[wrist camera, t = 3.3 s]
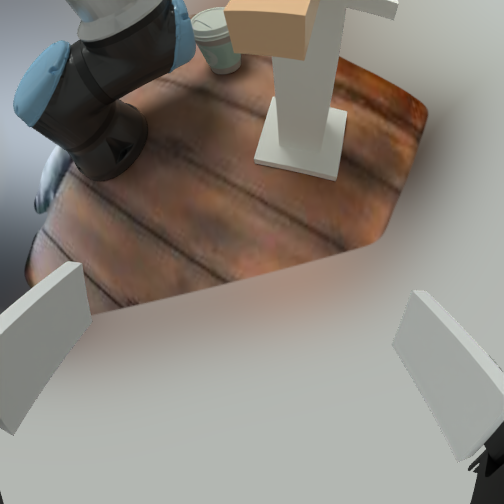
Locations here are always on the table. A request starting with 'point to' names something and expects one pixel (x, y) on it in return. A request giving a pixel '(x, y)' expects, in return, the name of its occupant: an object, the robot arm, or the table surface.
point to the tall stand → (311, 97)
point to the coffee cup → (215, 41)
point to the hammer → (271, 26)
